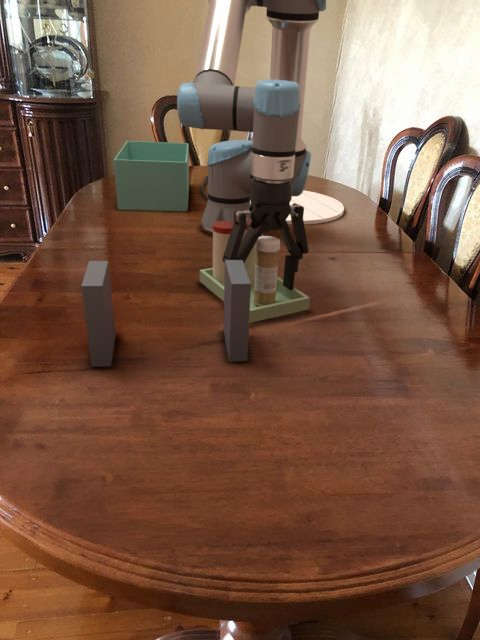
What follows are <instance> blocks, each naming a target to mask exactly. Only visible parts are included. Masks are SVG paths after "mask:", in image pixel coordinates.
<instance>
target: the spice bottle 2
mask: <svg viewBox="0 0 480 640" xmlns="http://www.w3.org/2000/svg"><path fill="white" fill-rule="evenodd" d="M248 221H249V222H248V223H246V229H245V232H244V235H243V238H244V236H245V234H246V232H247V228H248V226H249V224H250V222H251V218H249V219H248ZM257 229H258V228H256V227H255V230H257ZM262 236H264V233H263V234H262ZM243 238H242V240H243ZM256 253H257V252H256V243H255V245H254V247H253V248H252V250H251V252H250V254H249V256H248V257H247V259H246V261H245V263H244V266H245V268H246V271H247V274H248V277H249V280H250V282H251V285H255V266H256Z"/></svg>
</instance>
